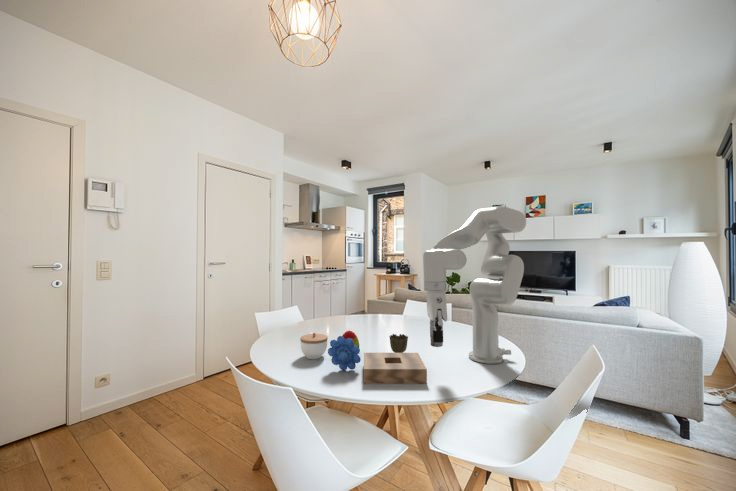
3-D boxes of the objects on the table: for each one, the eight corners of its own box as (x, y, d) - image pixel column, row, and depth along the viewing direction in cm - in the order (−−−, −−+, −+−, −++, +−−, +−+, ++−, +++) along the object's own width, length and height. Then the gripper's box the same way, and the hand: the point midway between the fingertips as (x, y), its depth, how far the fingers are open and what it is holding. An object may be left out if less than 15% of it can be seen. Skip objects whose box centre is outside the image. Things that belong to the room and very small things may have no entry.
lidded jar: (327, 351, 126) (327, 329, 126) (327, 360, 115) (328, 336, 116) (300, 353, 124) (301, 330, 124) (299, 362, 114) (299, 337, 114)
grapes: (325, 375, 102) (326, 339, 102) (328, 367, 108) (328, 334, 109) (360, 375, 101) (360, 339, 102) (360, 367, 108) (360, 334, 109)
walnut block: (417, 365, 111) (417, 352, 111) (426, 383, 95) (426, 369, 95) (363, 364, 111) (363, 352, 111) (363, 383, 95) (363, 369, 95)
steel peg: (441, 343, 104) (440, 319, 104) (444, 346, 100) (443, 322, 100) (429, 343, 104) (429, 320, 104) (432, 347, 100) (431, 323, 100)
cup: (407, 353, 124) (407, 333, 125) (408, 359, 117) (408, 338, 117) (389, 352, 125) (389, 333, 125) (389, 358, 118) (389, 338, 118)
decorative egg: (355, 351, 126) (356, 327, 126) (361, 358, 118) (361, 332, 119) (336, 353, 123) (337, 329, 124) (341, 360, 116) (341, 334, 116)
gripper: (453, 289, 94) (454, 348, 94) (439, 283, 111) (441, 332, 110) (429, 290, 94) (431, 348, 94) (419, 283, 111) (421, 333, 110)
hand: (436, 339), depth 102 cm, fingers closed on steel peg, 4 cm apart
